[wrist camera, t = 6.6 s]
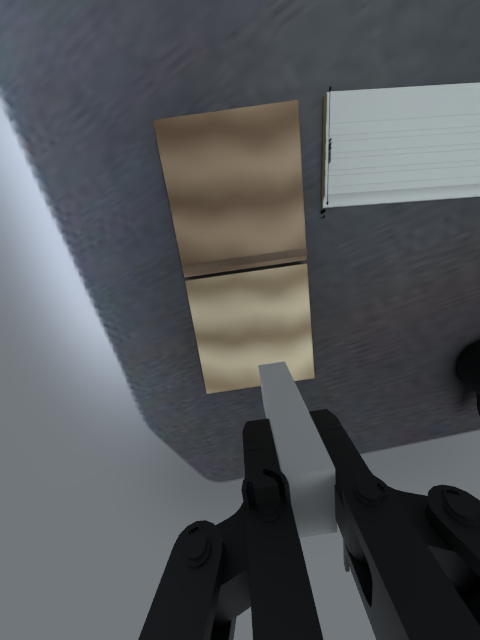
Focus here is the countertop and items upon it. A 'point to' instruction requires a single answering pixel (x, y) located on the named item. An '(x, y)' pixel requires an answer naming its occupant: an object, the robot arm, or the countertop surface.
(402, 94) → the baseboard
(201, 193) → the walnut board
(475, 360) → the mug
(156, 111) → the countertop surface
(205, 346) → the oak plank
